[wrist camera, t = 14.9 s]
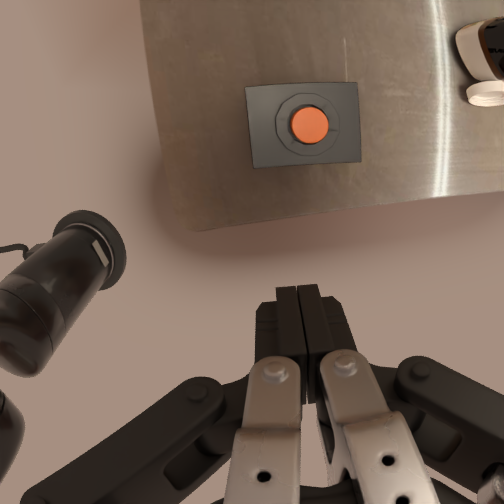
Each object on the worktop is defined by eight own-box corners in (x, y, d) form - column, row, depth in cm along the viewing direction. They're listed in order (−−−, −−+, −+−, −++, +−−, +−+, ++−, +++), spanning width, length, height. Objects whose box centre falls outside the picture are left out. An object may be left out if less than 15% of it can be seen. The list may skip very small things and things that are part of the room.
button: (291, 142, 31) (293, 144, 30) (288, 108, 30) (290, 108, 28) (326, 140, 31) (329, 142, 29) (324, 106, 29) (327, 106, 28)
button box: (253, 165, 36) (253, 172, 32) (245, 88, 32) (243, 85, 28) (356, 159, 35) (366, 165, 32) (351, 83, 31) (362, 81, 28)
